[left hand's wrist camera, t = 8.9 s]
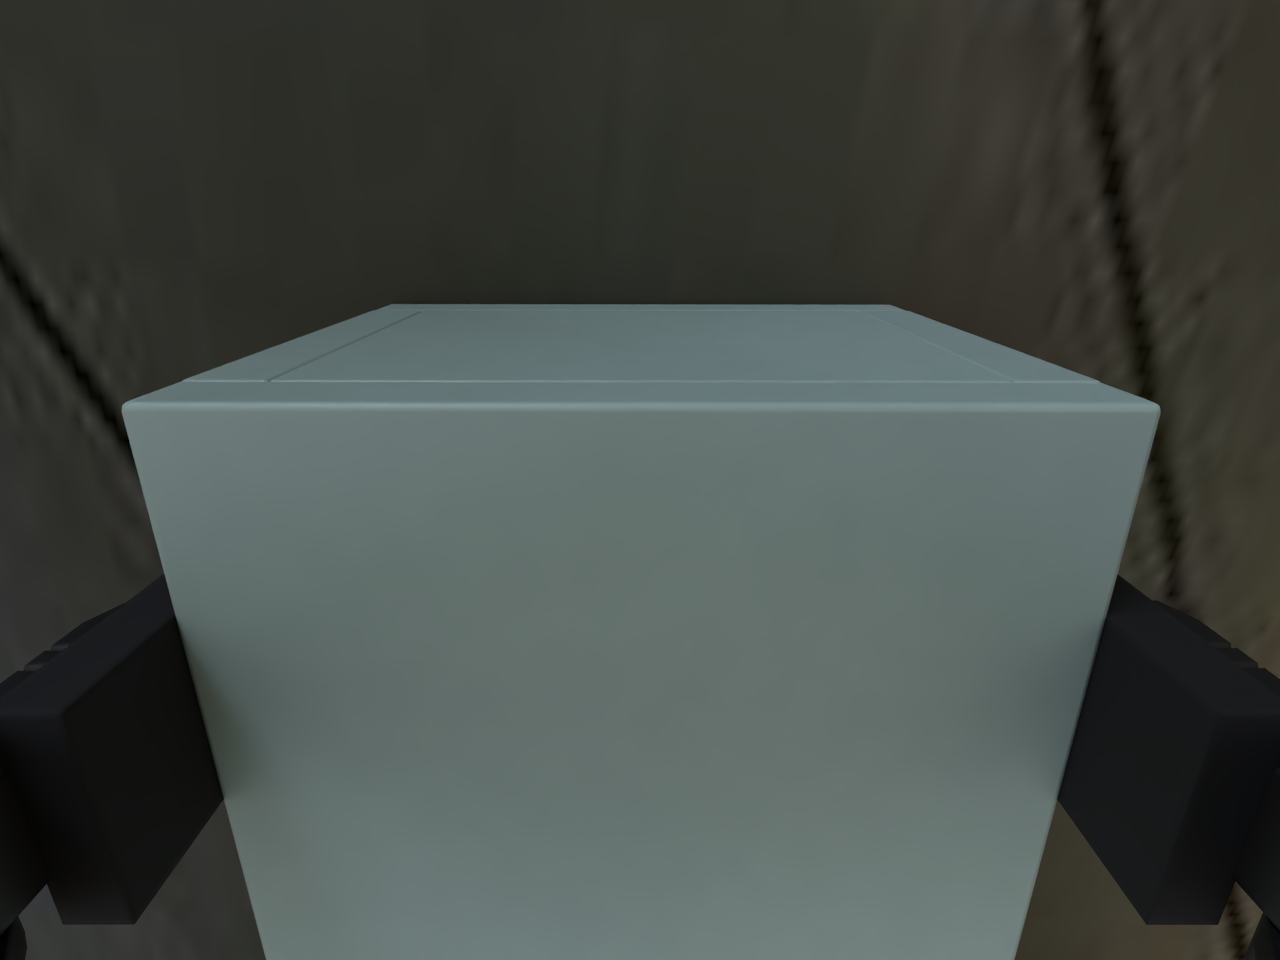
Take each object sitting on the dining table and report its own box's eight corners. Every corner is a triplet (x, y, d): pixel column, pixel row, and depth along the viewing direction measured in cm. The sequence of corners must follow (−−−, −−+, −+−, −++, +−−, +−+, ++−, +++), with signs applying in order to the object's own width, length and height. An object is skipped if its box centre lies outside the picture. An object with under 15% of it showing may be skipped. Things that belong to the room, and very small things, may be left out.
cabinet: (810, 973, 22) (902, 1387, 14) (469, 972, 22) (375, 1386, 14) (893, 303, 15) (1167, 404, 7) (388, 303, 15) (114, 402, 7)
